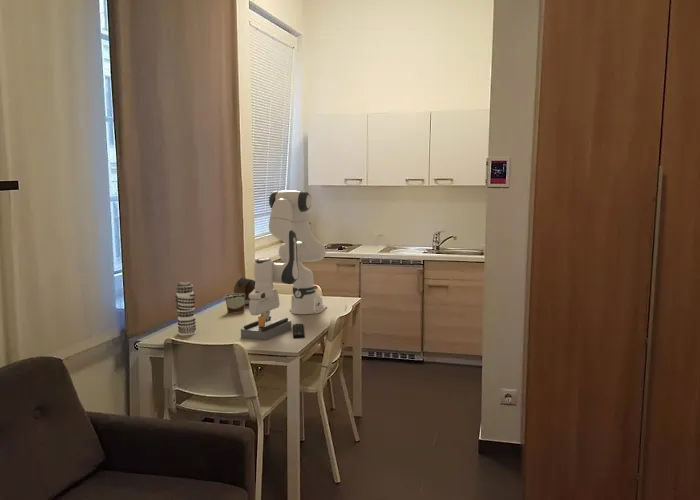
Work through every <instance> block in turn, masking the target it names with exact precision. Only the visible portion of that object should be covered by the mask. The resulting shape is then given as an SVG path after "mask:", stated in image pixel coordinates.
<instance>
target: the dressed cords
mask: <svg viewBox="0 0 700 500" xmlns="http://www.w3.org/2000/svg"><path fill="white" fill-rule="evenodd" d="M270 319H272V317H271V316H270V315H269V320H270ZM279 320H280V321H278V322H275V323H273V324H270V325H268V326H265V327H263V328H262V329H261V330H262V331H265V330H267V329H270V328H272V327H274V326H277V325H279V324H281V323H284V322H286V321H289V318H288V317H284V318H283V319H279ZM257 324H258V320H256V321H254V322H250V323H249V324H246V325H244V326H243V328H244V329H247V328H250V327H252V326H255V325H257Z"/></svg>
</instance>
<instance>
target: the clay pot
mask: <svg viewBox="0 0 700 500" xmlns="http://www.w3.org/2000/svg"><path fill="white" fill-rule="evenodd" d="M254 289H255V279H250V278H246V277H239V278H238V279H237V281H236V282H235V284H234V287H233V293H244V294H245V295H246V297H245V305H249V301H250V299H249V294H250V293H251V292H252V291H253V290H254Z"/></svg>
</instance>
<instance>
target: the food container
mask: <svg viewBox="0 0 700 500" xmlns="http://www.w3.org/2000/svg"><path fill="white" fill-rule="evenodd" d="M245 297H246V295H245V294H244V293H234V292H231V293H227V294H225V295H224V298H223V299H224V301H225V304H226V310H227V314H228V315H231V314H237V313H242V312H245V306H246V304H245Z"/></svg>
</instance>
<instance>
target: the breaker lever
mask: <svg viewBox="0 0 700 500" xmlns="http://www.w3.org/2000/svg"><path fill="white" fill-rule="evenodd" d="M257 321H258V325H259V327H264V326H265V316H262V315H261V314H259V315H257Z"/></svg>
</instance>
